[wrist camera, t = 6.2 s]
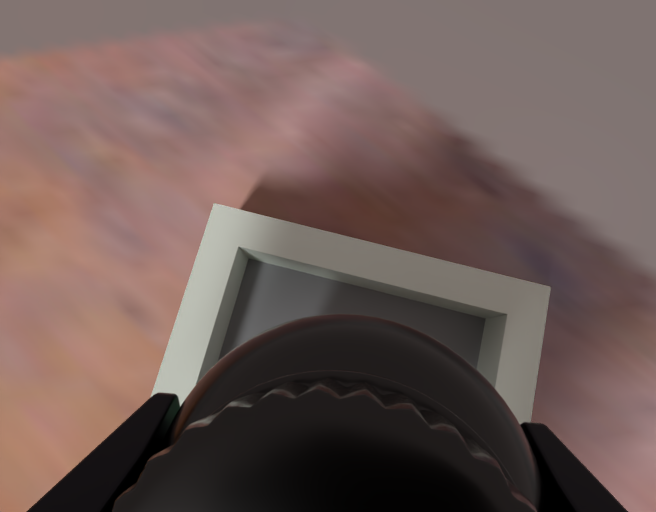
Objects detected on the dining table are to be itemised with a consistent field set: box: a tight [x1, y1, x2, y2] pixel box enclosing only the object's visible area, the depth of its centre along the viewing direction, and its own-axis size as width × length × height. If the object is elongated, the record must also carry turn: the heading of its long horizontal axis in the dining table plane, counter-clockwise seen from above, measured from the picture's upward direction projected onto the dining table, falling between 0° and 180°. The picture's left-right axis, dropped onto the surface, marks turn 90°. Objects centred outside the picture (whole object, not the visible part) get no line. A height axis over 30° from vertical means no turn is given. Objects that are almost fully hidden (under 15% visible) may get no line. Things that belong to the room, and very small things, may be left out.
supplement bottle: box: [111, 314, 550, 512], centre depth 10 cm, size 7×7×12 cm
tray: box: [151, 203, 551, 424], centre depth 18 cm, size 14×14×3 cm
